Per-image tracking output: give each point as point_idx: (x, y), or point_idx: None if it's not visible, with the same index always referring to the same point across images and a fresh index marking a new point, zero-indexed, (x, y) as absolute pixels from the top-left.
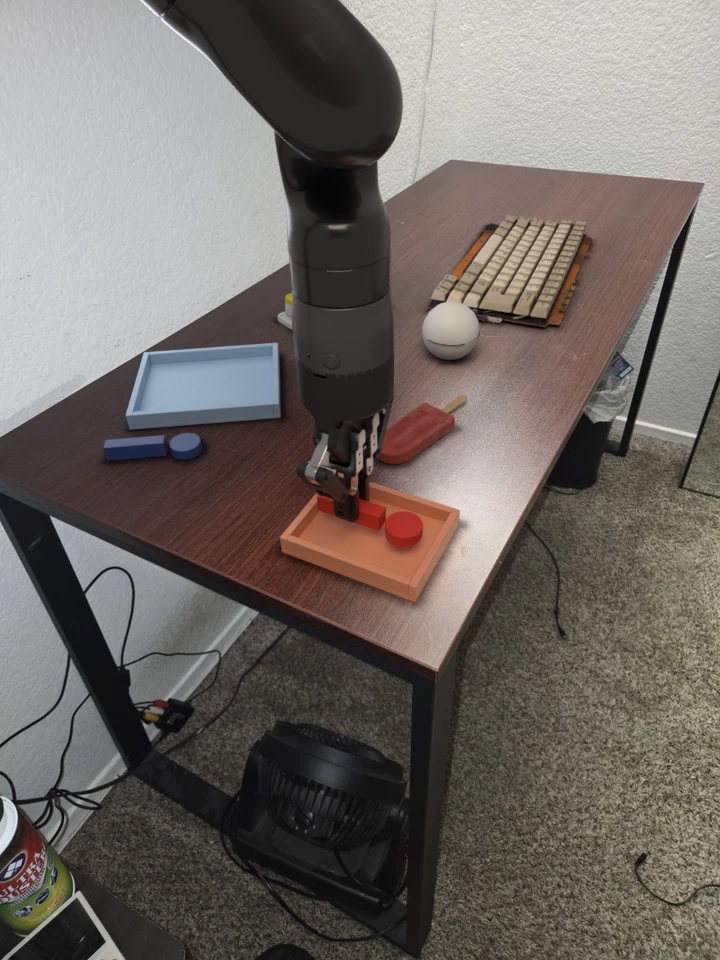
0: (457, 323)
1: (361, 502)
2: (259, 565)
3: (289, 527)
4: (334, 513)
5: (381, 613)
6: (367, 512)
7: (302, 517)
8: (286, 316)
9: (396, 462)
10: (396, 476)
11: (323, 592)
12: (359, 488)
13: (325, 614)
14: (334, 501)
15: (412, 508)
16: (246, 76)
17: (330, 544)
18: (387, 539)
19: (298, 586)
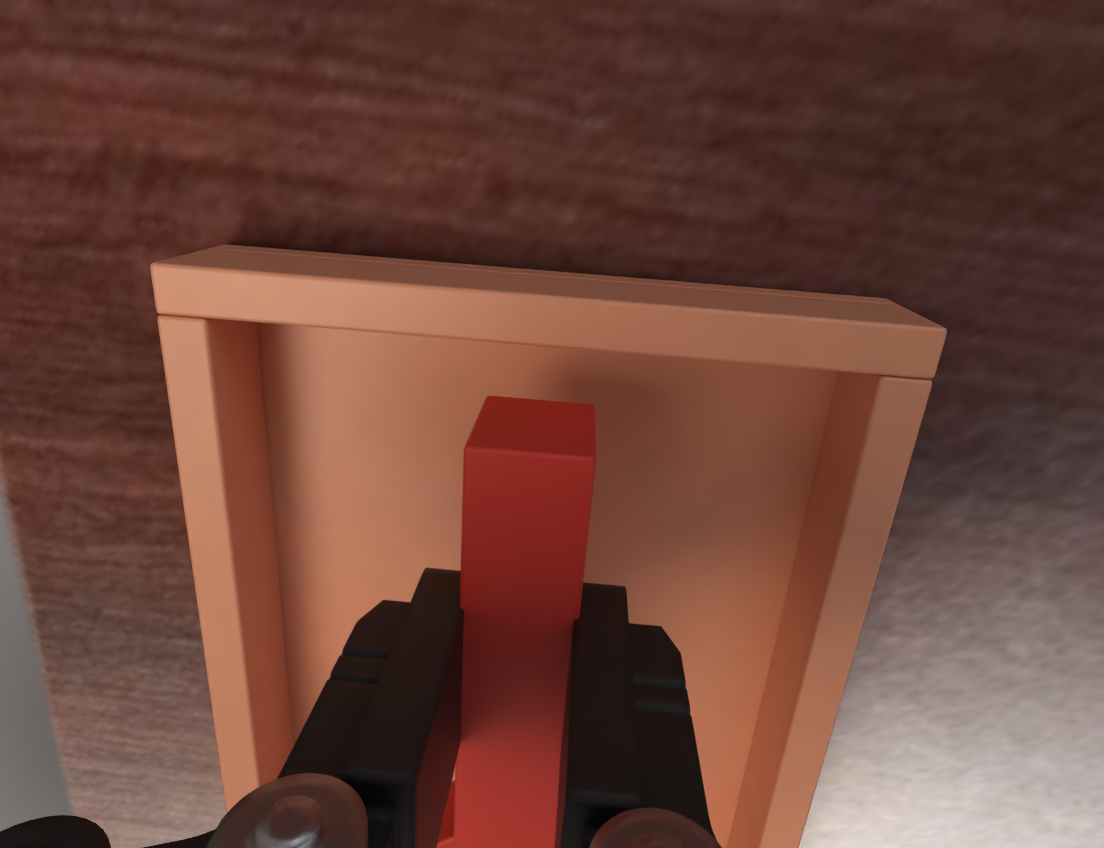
0: None
1: (531, 737)
2: (75, 166)
3: (256, 284)
4: (354, 626)
5: (177, 762)
6: (460, 788)
7: (384, 323)
8: None
9: None
10: (1041, 593)
11: (131, 544)
12: (559, 800)
13: (42, 593)
14: (310, 722)
15: (752, 770)
16: None
17: (370, 489)
18: None
19: (90, 430)
